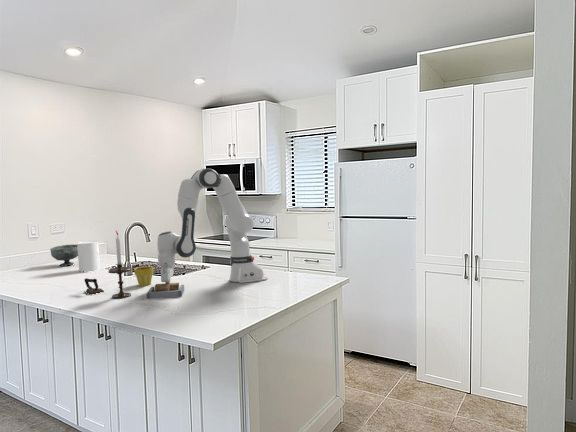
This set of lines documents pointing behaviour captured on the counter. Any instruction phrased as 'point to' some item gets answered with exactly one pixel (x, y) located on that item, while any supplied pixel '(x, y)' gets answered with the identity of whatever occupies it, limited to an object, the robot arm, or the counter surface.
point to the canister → (88, 256)
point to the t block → (166, 287)
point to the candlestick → (119, 272)
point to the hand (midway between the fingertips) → (168, 286)
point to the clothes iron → (89, 288)
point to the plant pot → (144, 275)
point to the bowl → (65, 253)
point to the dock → (164, 293)
